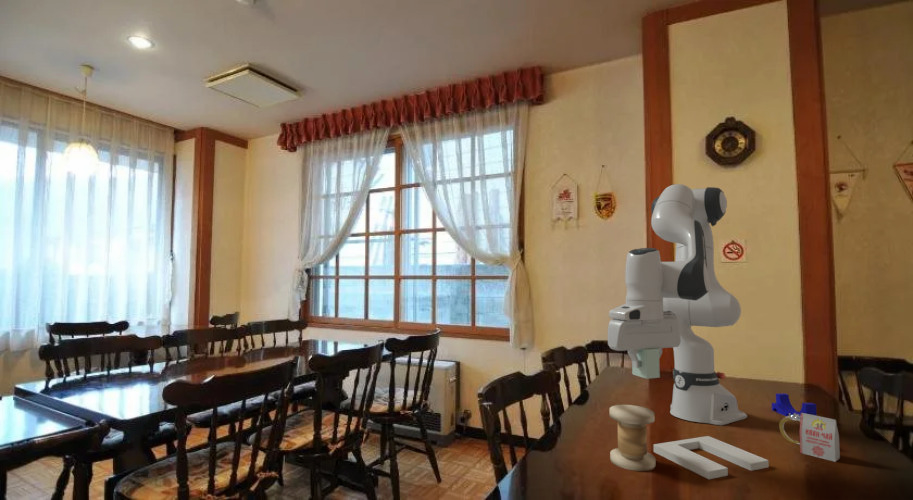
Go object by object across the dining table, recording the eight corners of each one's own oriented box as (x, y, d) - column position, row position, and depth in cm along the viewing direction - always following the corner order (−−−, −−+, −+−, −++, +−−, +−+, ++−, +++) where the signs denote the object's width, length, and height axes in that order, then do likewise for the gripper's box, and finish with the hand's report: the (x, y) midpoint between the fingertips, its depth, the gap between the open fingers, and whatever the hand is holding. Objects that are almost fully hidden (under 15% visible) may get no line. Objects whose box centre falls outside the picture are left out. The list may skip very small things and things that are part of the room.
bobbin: (634, 451, 111) (633, 403, 111) (665, 468, 101) (664, 415, 102) (601, 456, 108) (600, 406, 108) (629, 474, 98) (628, 419, 99)
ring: (815, 448, 113) (813, 416, 113) (808, 450, 111) (807, 418, 112) (784, 439, 119) (783, 409, 119) (778, 441, 117) (776, 411, 118)
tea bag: (805, 451, 111) (803, 411, 111) (840, 460, 105) (838, 418, 106) (800, 455, 109) (798, 414, 109) (835, 464, 103) (833, 421, 104)
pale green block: (644, 373, 114) (644, 346, 114) (659, 377, 109) (659, 349, 110) (632, 374, 113) (631, 346, 113) (646, 378, 108) (646, 349, 108)
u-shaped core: (708, 443, 116) (708, 435, 116) (768, 469, 101) (768, 460, 101) (653, 452, 110) (653, 444, 110) (708, 481, 95) (708, 471, 95)
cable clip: (772, 412, 143) (771, 393, 143) (785, 412, 143) (784, 393, 143) (802, 425, 131) (801, 404, 131) (816, 424, 131) (816, 404, 131)
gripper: (666, 309, 118) (667, 361, 118) (603, 311, 112) (604, 366, 111) (686, 311, 112) (687, 366, 112) (620, 313, 106) (621, 371, 105)
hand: (645, 366), depth 111 cm, fingers closed on pale green block, 4 cm apart
